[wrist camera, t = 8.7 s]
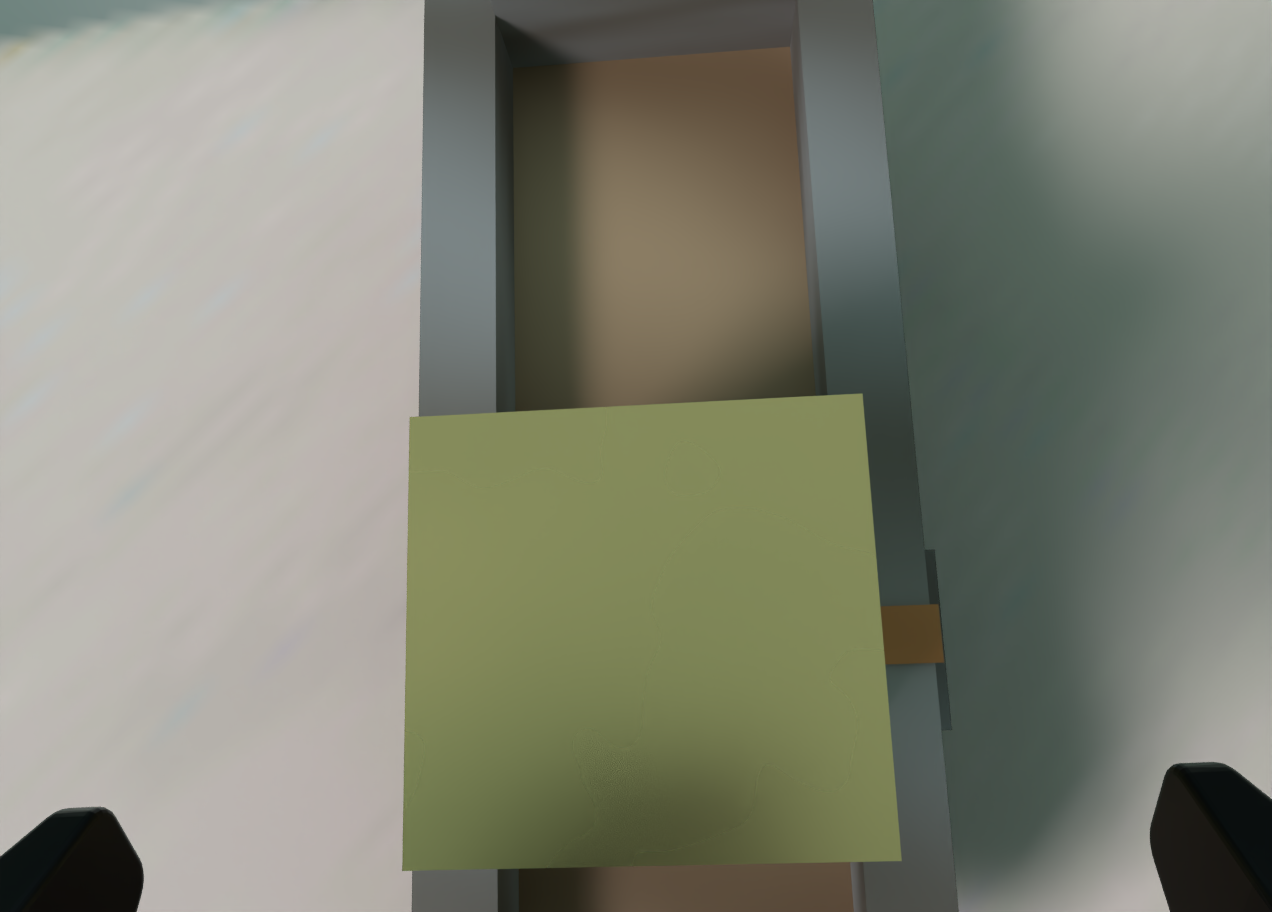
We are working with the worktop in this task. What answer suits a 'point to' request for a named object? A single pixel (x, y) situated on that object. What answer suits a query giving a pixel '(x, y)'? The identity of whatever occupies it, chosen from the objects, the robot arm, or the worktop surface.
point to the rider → (645, 639)
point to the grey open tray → (685, 321)
